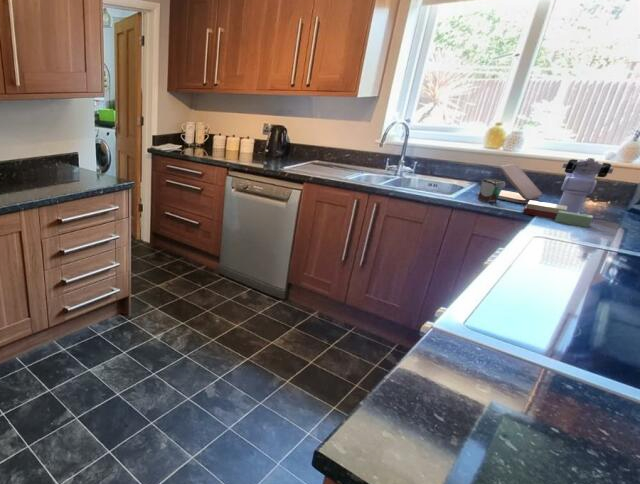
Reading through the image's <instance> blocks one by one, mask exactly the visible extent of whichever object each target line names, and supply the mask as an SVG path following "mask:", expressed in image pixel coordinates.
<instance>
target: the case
mask: <svg viewBox="0 0 640 484" xmlns="http://www.w3.org/2000/svg"><path fill="white" fill-rule="evenodd" d="M499 169H500V172H501V173H502V174H503V175H504V177H505V178H506V179H507V181H508V182H509V183H510V184H511V186H512V187H513V188H514V190H516V192H513V191H510V190H509V191H508V190H503V189H502V190H501V192H500V194H499V196H498V198H497V200H501V201H505V202H512V203H516V204H528V202H529V200H532V201H539V200H540V198H542V197H543V193H542V191H541V190H540V189H539V188H538V187H537V186H536V184H534V182H533V181H532V180H531V178H529V176H528V175H527V174H526V173H525V172H524V170H523V169H522V168H521V167H520V166H519V165H518V164H516V163H511V164H509V163H508V164H505V165H501V166H500V167H499ZM476 195H477V196H478V195H479V192H477V193H476Z"/></svg>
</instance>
